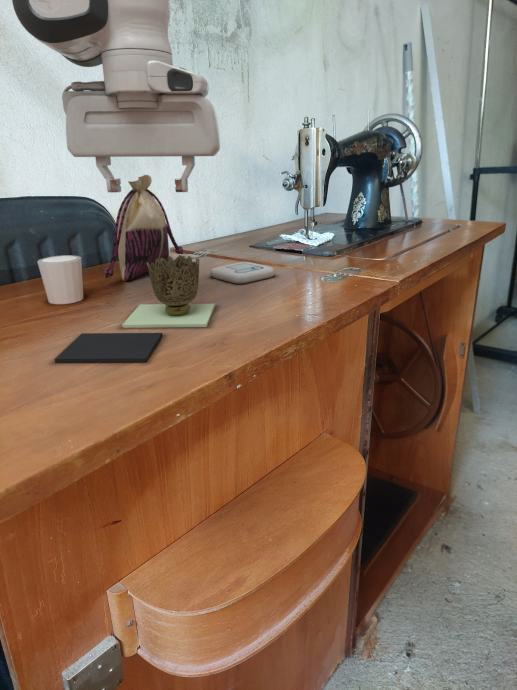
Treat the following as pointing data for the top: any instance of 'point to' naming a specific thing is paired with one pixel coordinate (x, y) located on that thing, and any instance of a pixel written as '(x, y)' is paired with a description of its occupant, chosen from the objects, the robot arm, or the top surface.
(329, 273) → the top surface
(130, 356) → the charcoal mat
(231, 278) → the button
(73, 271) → the white tapered cup
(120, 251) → the pouch
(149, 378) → the top surface
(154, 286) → the cup
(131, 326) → the sage mat
